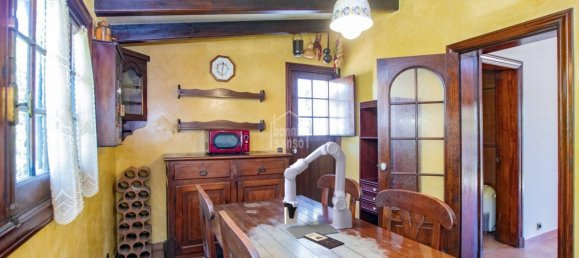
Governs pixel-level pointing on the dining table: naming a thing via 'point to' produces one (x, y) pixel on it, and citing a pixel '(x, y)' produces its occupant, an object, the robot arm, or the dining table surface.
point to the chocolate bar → (323, 240)
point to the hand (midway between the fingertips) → (290, 217)
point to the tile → (287, 219)
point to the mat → (311, 230)
